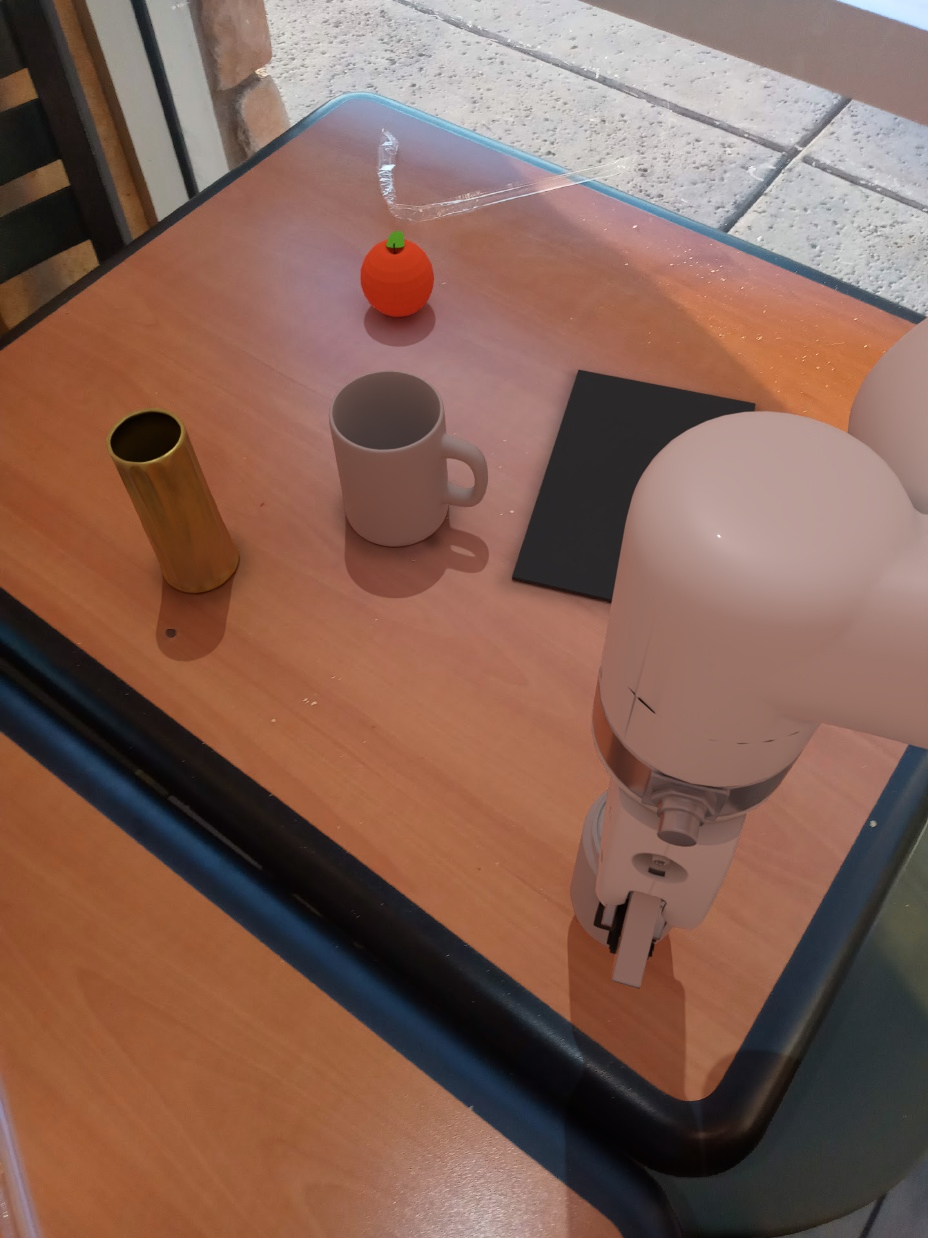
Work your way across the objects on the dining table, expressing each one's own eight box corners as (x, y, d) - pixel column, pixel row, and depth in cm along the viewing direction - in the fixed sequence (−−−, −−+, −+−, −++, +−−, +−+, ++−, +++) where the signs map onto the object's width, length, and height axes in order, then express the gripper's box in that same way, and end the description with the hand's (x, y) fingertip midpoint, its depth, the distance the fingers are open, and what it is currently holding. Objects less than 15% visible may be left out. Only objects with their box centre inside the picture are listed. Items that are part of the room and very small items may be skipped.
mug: (329, 533, 73) (308, 437, 64) (368, 457, 78) (353, 357, 68) (470, 570, 71) (469, 477, 62) (502, 491, 76) (506, 392, 66)
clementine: (368, 277, 91) (361, 212, 85) (438, 279, 90) (435, 213, 84) (360, 331, 86) (352, 267, 80) (433, 333, 86) (430, 268, 80)
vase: (150, 589, 71) (84, 464, 59) (176, 527, 74) (117, 397, 62) (226, 599, 70) (174, 475, 58) (248, 536, 73) (204, 406, 61)
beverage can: (547, 895, 54) (556, 827, 44) (621, 825, 57) (646, 745, 46) (625, 978, 52) (654, 926, 42) (700, 902, 54) (744, 834, 44)
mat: (717, 627, 68) (719, 624, 68) (511, 579, 71) (511, 576, 70) (754, 406, 81) (755, 403, 80) (578, 372, 83) (578, 369, 83)
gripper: (777, 981, 28) (682, 1056, 43) (821, 548, 37) (729, 736, 52) (541, 914, 30) (529, 1010, 45) (638, 512, 38) (600, 706, 53)
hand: (637, 862), depth 48 cm, fingers closed on beverage can, 6 cm apart
